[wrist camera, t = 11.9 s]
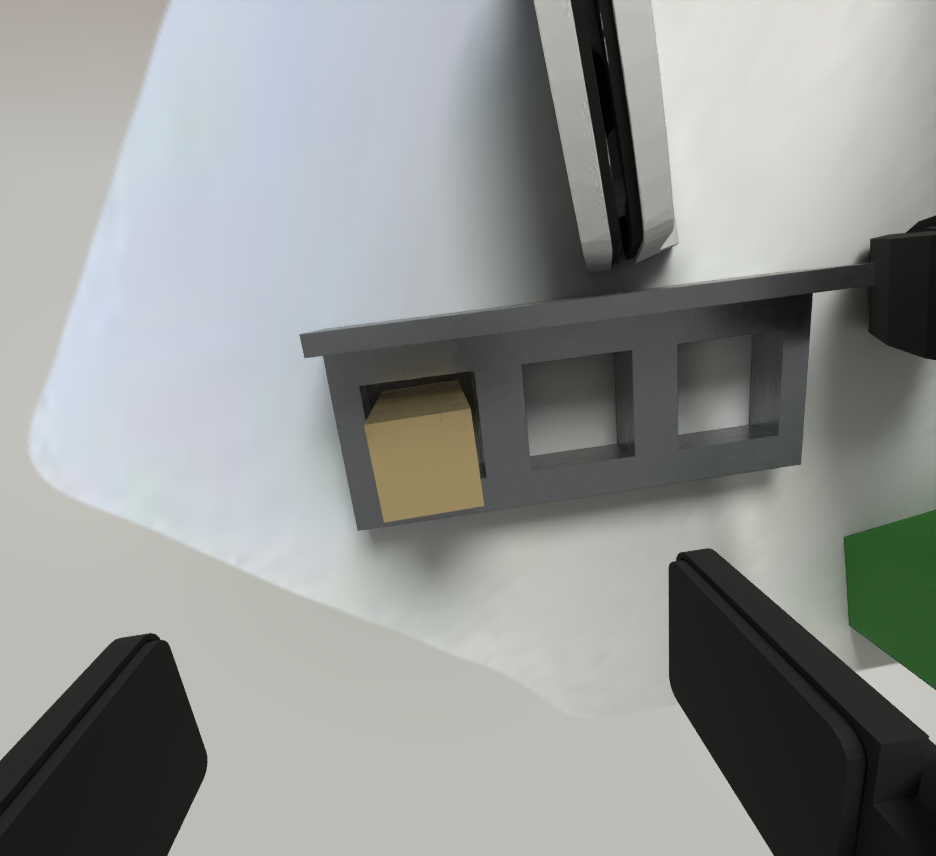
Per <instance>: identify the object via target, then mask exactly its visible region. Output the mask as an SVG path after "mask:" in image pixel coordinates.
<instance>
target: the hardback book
mask: <svg viewBox="0 0 936 856" xmlns="http://www.w3.org/2000/svg"><path fill="white" fill-rule="evenodd" d="M844 547H845V565H846V582H847V599H848V616H849V626H851V627H852V628H853V629H855V630H856V631H857V632H859V633H860V634H861V635H863V636H864V637H865V638H867V639H868V640H869V641H871V642H872V643H873V644H875V645H876V646H877V647H879V648H880V649H882V650H883V651H884V652H886V653H887V654H888V655H890V656H891V657H892V658H894V659H895V660H896V661H898V662H899V663H900V664H902V665H903V666H904V667H906V668H907V669H908V670H910V671H911V672H912V673H914V674H915V675H916V676H918V677H919V678H920V679H922V680H923V681H924V682H926V683H927V684H928V685H930V686H931V687H932V688H934V689H935V690H936V510H934V511H930V512H927V513H924V514H920V515H917V516H914V517H910V518H907V519H903V520H900V521H897V522H893V523H890V524H887V525H883V526H880V527H876V528H873V529H870V530H866V531H863V532H860V533H856V534H853V535H850V536H846V537H844Z"/></svg>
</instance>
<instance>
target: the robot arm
mask: <svg viewBox="0 0 936 856" xmlns="http://www.w3.org/2000/svg"><path fill="white" fill-rule="evenodd" d="M669 679H670V684H671V688H672V691H673V693H674V696H675V698H676V699H677V701H678V703H679V704H680V706H681V708H682V709H683V711H684V712H685V714H686V715H687V717H688V719H689V720H690V722H691V724H692V725H693V727H694V728H695V730H696V732H697V733H698V735H699V736H700V738H701V740H702V741H703V743H704V744H705V746H706V747H707V749H708V751H709V752H710V754H711V756H712V757H713V759H714V760H715V762H716V764H717V765H718V767H719V768H720V770H721V771H722V773H723V775H724V776H725V778H726V779H727V781H728V783H729V784H730V786H731V788H732V789H733V791H734V792H735V794H736V795H737V797H738V799H739V800H740V802H741V803H742V805H743V807H744V808H745V810H746V811H747V813H748V815H749V816H750V818H751V820H752V821H753V823H754V824H755V826H756V828H757V829H758V830H759V832H760V834H761V835H762V837H763V839H764V840H765V842H766V844H767V845H768V847H769V848H770V850H771V852H772V853H773V855H774V856H936V745H935V744H934V743H933V742H931V741H930V740H929V736H928V735H927V734H926V733H925V732H924V731H922V730H921V729H920V728H919V727H918V726H917V725H915V724H914V723H913V722H912V721H911V720H910V719H909V718H907V717H906V716H905V715H904V714H903V713H902V712H900V711H899V710H898V709H897V708H896V707H895V706H893V705H892V704H891V703H890V702H889V701H888V700H887V699H885V698H884V697H883V696H882V695H881V694H880V693H879V692H877V691H876V690H875V689H874V688H873V687H871V686H870V685H869V684H868V683H867V682H866V681H865V680H863V679H862V678H861V677H860V676H859V675H858V674H856V673H855V672H854V671H853V670H852V669H851V668H850V667H848V666H847V665H846V664H845V663H844V662H843V661H842V660H840V659H839V658H838V657H837V656H836V655H835V654H833V653H832V652H831V651H830V650H829V649H828V648H827V647H825V646H824V645H823V644H822V643H821V642H820V641H818V640H817V639H816V638H815V637H814V636H813V635H811V634H810V633H809V632H808V631H807V630H806V629H805V628H803V627H802V626H801V625H800V624H799V623H798V622H796V621H795V620H794V619H793V618H792V617H791V616H790V615H788V614H787V613H786V612H785V611H784V610H783V609H781V608H780V607H779V606H778V605H777V604H776V603H774V602H773V601H772V600H771V599H770V598H769V597H768V596H766V595H765V594H764V593H763V592H762V591H761V590H759V589H758V588H757V587H756V586H755V585H754V584H753V583H751V582H750V581H749V580H748V579H747V578H746V577H744V576H743V575H742V574H741V573H740V572H739V571H737V570H736V569H735V568H734V567H733V566H732V565H731V564H729V563H728V562H727V561H726V560H725V559H724V558H722V557H721V556H720V555H719V554H718V553H717V552H716V551H714V550H712V549H708V548H707V549H701V550H694V551H687V552H681V553H679V554H678V556H677V558H676V561H675V562H671V563H670V565H669ZM206 769H207V753H206V750H205V747H204V744H203V741H202V738H201V735H200V732H199V729H198V727H197V724H196V721H195V718H194V715H193V712H192V709H191V706H190V703H189V700H188V698H187V695H186V692H185V689H184V686H183V683H182V680H181V678H180V675H179V672H178V669H177V666H176V663H175V660H174V657H173V654H172V652H171V649H170V646H169V644H168V643H167V642H166V641H164V640H160V638H159V637H158V636H157V635H156V634H152V633H149V634H143V635H136V636H130V637H123V638H119V639H116V640H114V641H113V642H112V643H111V644H110V645H109V646H108V647H107V648H106V649H105V650H104V651H103V652H102V653H101V654H100V655H99V656H98V657H97V658H96V659H95V660H94V661H93V663H92V664H91V665H90V666H89V667H88V668H87V669H86V670H85V671H84V672H83V673H82V674H81V675H80V676H79V677H78V679H77V680H76V681H75V682H74V683H73V684H72V685H71V686H70V687H69V688H68V689H67V690H66V691H65V693H64V694H63V695H62V696H61V697H60V698H59V699H58V700H57V701H56V702H55V703H54V704H53V705H52V706H51V707H50V708H49V709H48V710H47V712H46V713H45V714H44V715H43V716H42V717H41V718H40V719H39V720H38V721H37V722H36V723H35V724H34V725H33V727H32V728H31V729H30V730H29V731H28V732H27V733H26V734H25V735H24V736H23V737H22V738H21V739H20V740H19V741H18V742H17V744H16V745H15V746H14V747H13V748H12V749H11V750H10V751H9V752H8V753H7V754H6V755H5V756H4V757H3V758H2V760H1V761H0V856H167V855H168V853H169V850H170V848H171V846H172V844H173V842H174V840H175V838H176V836H177V834H178V832H179V830H180V827H181V825H182V823H183V821H184V819H185V817H186V815H187V813H188V811H189V808H190V806H191V804H192V802H193V800H194V798H195V796H196V794H197V792H198V790H199V787H200V785H201V783H202V781H203V779H204V776H205V773H206Z"/></svg>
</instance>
